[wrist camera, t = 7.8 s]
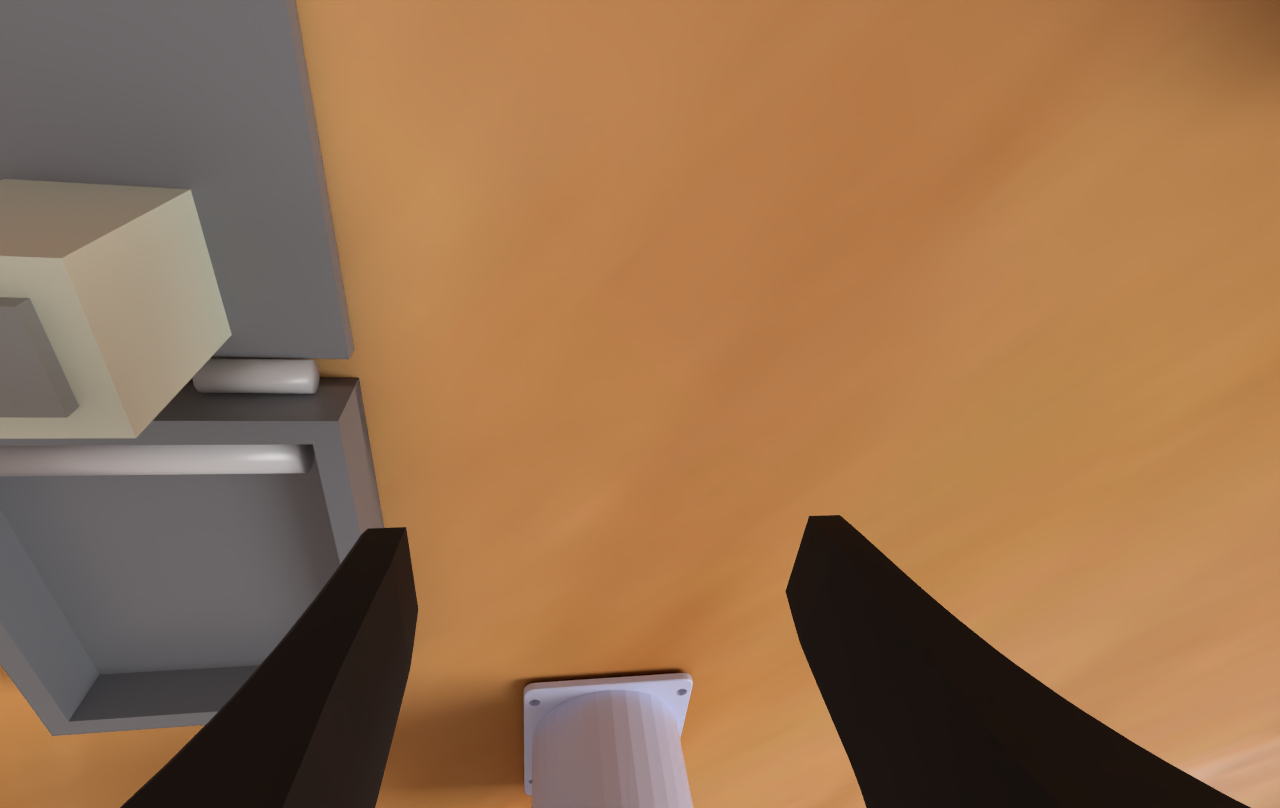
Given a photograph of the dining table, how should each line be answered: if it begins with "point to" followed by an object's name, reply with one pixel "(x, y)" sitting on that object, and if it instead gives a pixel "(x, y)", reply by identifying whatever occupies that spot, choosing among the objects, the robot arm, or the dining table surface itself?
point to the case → (175, 551)
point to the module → (100, 306)
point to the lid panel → (193, 154)
